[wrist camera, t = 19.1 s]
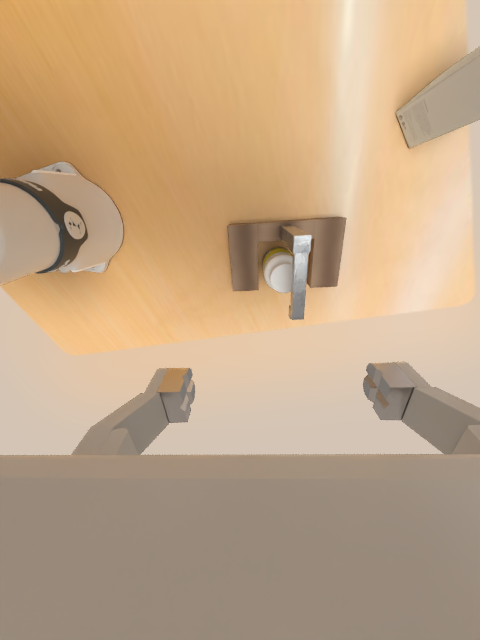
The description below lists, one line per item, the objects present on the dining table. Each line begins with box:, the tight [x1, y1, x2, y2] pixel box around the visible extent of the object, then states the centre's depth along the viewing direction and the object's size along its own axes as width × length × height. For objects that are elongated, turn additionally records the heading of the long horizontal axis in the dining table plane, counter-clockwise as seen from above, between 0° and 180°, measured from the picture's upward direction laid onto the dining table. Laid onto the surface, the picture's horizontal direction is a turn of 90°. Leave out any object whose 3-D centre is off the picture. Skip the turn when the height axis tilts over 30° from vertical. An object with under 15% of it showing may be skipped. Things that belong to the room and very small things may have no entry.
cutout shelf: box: [228, 217, 346, 291], centre depth 43 cm, size 20×12×3 cm, turn 94°
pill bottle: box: [262, 247, 293, 293], centre depth 40 cm, size 6×6×11 cm
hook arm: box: [280, 225, 311, 320], centre depth 37 cm, size 2×12×17 cm, turn 4°
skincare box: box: [396, 46, 480, 148], centre depth 27 cm, size 8×6×15 cm
